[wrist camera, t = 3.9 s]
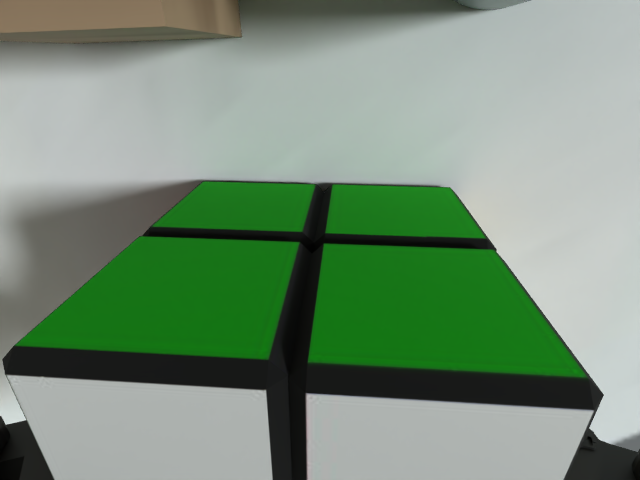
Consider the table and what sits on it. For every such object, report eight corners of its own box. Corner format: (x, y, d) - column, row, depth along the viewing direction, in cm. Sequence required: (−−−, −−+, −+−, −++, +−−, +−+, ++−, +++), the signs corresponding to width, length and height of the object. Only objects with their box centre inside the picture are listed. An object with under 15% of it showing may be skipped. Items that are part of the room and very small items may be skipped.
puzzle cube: (223, 370, 20) (115, 637, 11) (197, 178, 15) (-24, 357, 6) (424, 381, 19) (490, 677, 10) (457, 185, 15) (625, 395, 6)
